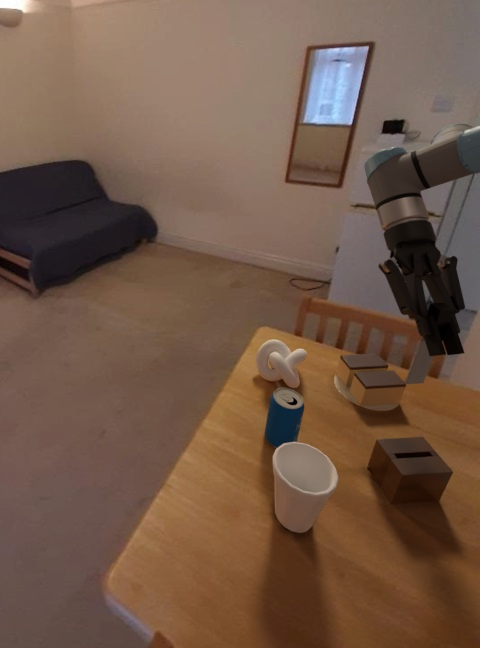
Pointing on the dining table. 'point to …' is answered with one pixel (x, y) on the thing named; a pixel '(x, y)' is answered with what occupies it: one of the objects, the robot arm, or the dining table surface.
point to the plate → (347, 395)
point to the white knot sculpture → (279, 362)
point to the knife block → (408, 470)
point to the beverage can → (284, 417)
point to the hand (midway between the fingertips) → (446, 354)
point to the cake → (370, 379)
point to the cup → (301, 484)
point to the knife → (422, 356)
